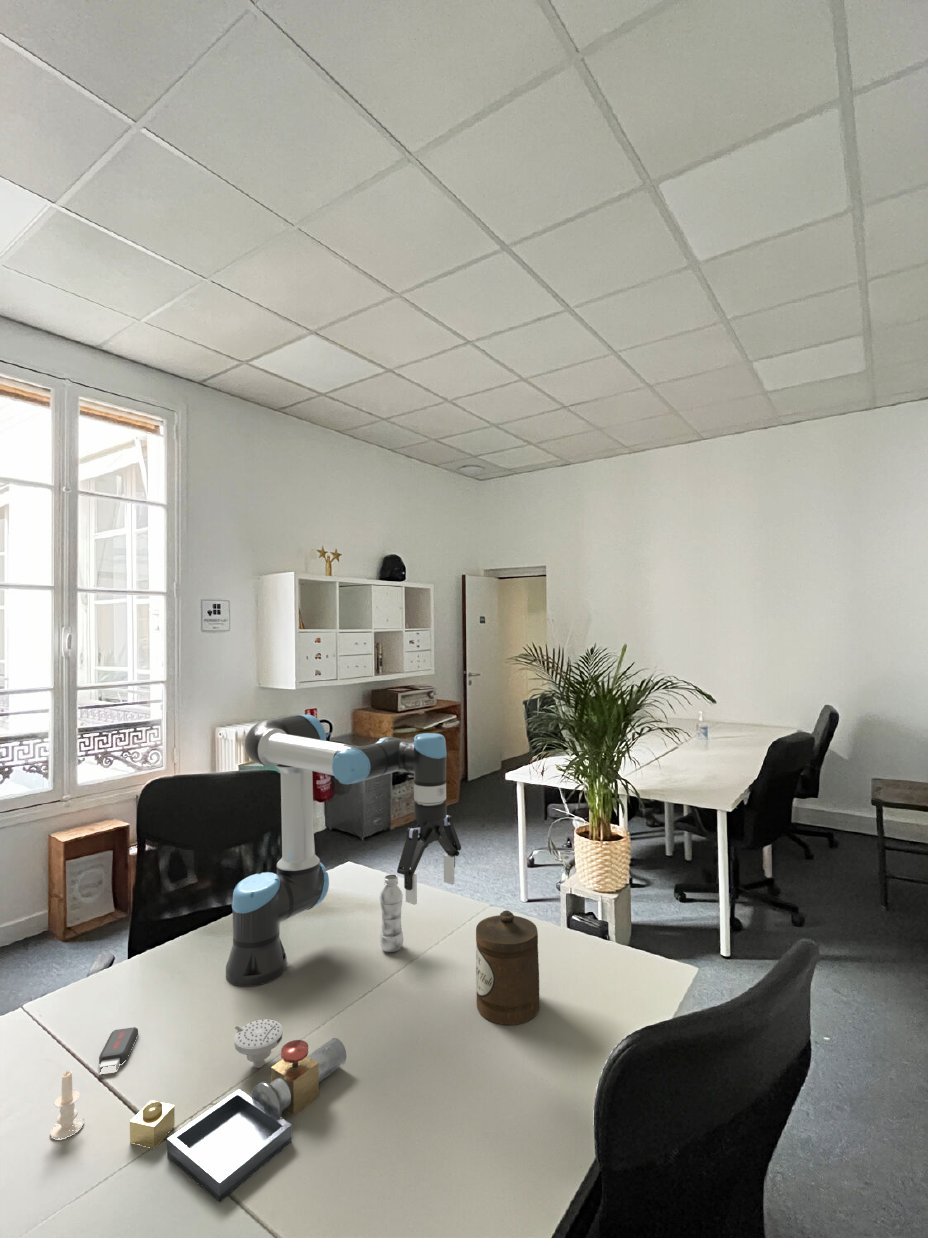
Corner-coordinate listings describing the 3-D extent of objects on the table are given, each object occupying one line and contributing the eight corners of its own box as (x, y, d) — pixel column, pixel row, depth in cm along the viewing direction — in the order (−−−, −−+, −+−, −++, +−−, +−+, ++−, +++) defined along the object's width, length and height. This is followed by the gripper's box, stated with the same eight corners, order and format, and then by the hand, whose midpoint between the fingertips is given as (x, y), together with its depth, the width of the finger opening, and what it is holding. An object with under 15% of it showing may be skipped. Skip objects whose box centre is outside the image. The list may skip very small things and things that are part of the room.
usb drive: (138, 1036, 139) (138, 1024, 139) (122, 1073, 128) (122, 1060, 128) (112, 1040, 138) (112, 1027, 138) (93, 1078, 126) (93, 1064, 126)
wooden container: (476, 987, 156) (476, 898, 157) (536, 988, 156) (535, 898, 156) (476, 1025, 141) (475, 927, 142) (542, 1026, 141) (541, 927, 141)
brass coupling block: (129, 1144, 110) (129, 1116, 110) (151, 1122, 115) (151, 1096, 115) (154, 1150, 108) (153, 1122, 109) (174, 1128, 113) (174, 1101, 113)
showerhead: (247, 1012, 135) (290, 1017, 133) (247, 1046, 135) (290, 1052, 133) (222, 1040, 126) (268, 1046, 124) (222, 1077, 126) (268, 1083, 124)
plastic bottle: (407, 945, 177) (406, 874, 177) (397, 957, 171) (396, 883, 171) (386, 942, 179) (386, 871, 179) (375, 953, 173) (375, 880, 173)
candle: (47, 1145, 110) (46, 1084, 110) (53, 1123, 114) (52, 1065, 115) (81, 1135, 112) (81, 1076, 112) (86, 1114, 117) (86, 1057, 117)
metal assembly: (167, 1160, 107) (167, 1100, 107) (313, 1054, 133) (312, 1006, 133) (219, 1206, 98) (219, 1141, 98) (364, 1084, 124) (364, 1032, 125)
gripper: (405, 817, 135) (406, 916, 135) (475, 792, 155) (475, 879, 155) (380, 811, 140) (381, 907, 139) (451, 787, 160) (451, 871, 159)
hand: (430, 892), depth 147 cm, fingers open, 13 cm apart
